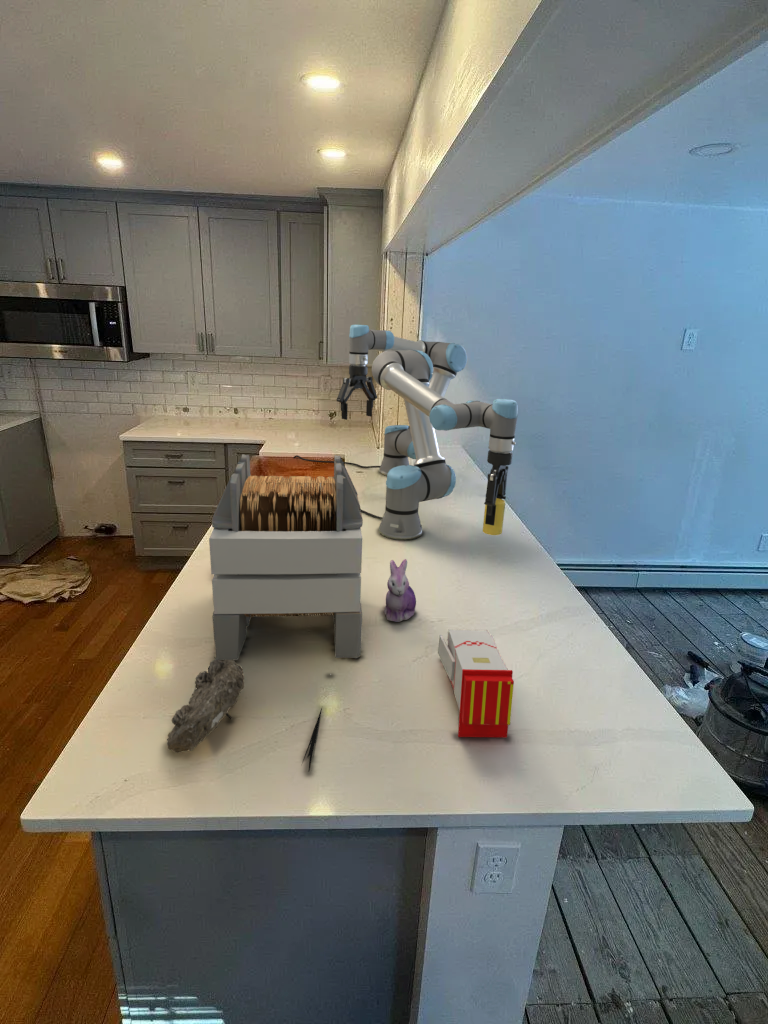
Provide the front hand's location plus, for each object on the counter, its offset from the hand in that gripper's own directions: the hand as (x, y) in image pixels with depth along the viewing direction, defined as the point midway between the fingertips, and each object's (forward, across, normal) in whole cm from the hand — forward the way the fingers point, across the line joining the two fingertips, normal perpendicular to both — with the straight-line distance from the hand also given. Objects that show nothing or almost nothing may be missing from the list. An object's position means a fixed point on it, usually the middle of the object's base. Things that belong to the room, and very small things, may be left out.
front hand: (493, 521), depth 182 cm
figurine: (+12, -50, +8) cm, 52 cm away
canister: (+4, 0, 0) cm, 4 cm away
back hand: (-20, +34, +72) cm, 82 cm away
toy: (+12, -70, -19) cm, 74 cm away
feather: (+12, -94, +3) cm, 95 cm away
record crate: (+12, -68, +29) cm, 75 cm away
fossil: (+12, -104, +20) cm, 106 cm away
